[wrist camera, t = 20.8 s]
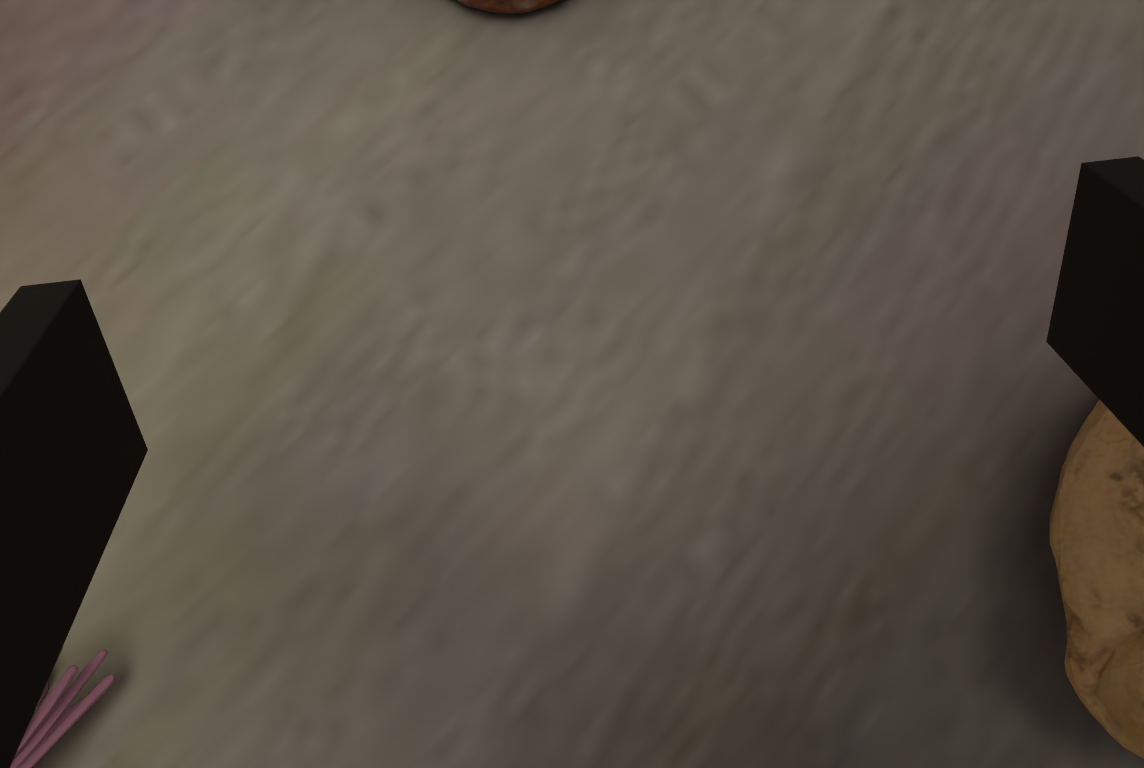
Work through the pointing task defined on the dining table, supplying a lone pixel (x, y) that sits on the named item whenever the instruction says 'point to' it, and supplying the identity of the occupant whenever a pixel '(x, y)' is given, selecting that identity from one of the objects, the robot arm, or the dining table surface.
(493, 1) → the sauce bottle
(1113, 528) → the oil lamp
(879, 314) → the dining table surface
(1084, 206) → the robot arm
